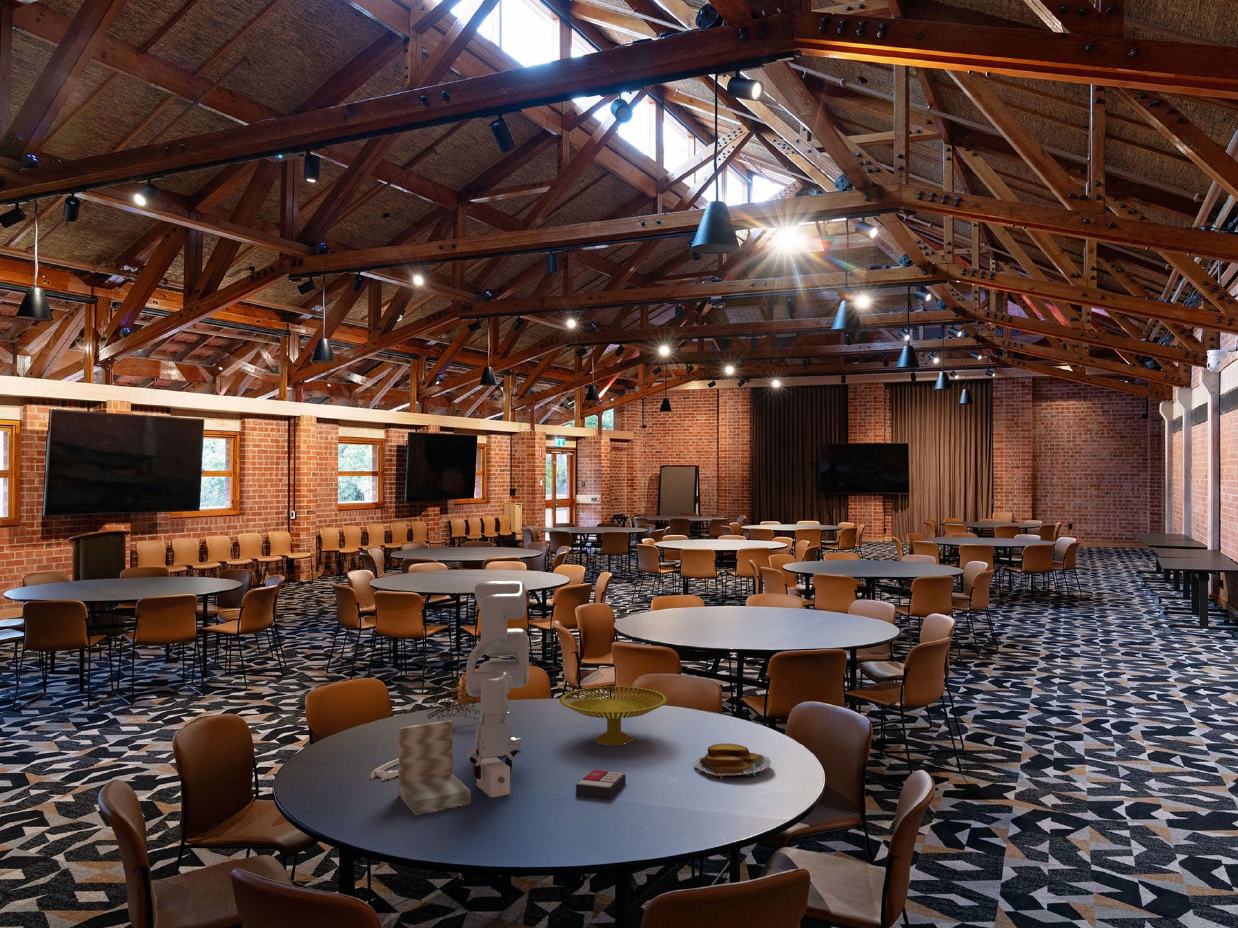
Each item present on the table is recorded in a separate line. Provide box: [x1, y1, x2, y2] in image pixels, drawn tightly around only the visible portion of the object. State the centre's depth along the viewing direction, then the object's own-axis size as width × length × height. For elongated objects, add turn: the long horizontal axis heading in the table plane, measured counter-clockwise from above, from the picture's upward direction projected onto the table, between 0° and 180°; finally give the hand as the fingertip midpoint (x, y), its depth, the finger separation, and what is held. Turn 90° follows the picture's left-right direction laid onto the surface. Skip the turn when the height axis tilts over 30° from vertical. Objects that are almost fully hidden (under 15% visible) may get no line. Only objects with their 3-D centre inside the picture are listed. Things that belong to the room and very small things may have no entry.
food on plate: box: [692, 743, 772, 781], centre depth 263 cm, size 25×25×7 cm
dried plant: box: [424, 656, 532, 722], centre depth 317 cm, size 30×31×45 cm
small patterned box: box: [575, 769, 627, 801], centre depth 244 cm, size 11×4×15 cm
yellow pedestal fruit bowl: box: [558, 685, 669, 746], centre depth 295 cm, size 40×40×15 cm
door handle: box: [370, 757, 399, 782], centre depth 265 cm, size 3×10×25 cm
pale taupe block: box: [476, 757, 511, 798], centre depth 244 cm, size 6×13×8 cm, turn 30°
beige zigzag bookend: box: [398, 719, 472, 816], centre depth 237 cm, size 16×18×20 cm
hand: (493, 775), depth 244 cm, fingers open, 9 cm apart
